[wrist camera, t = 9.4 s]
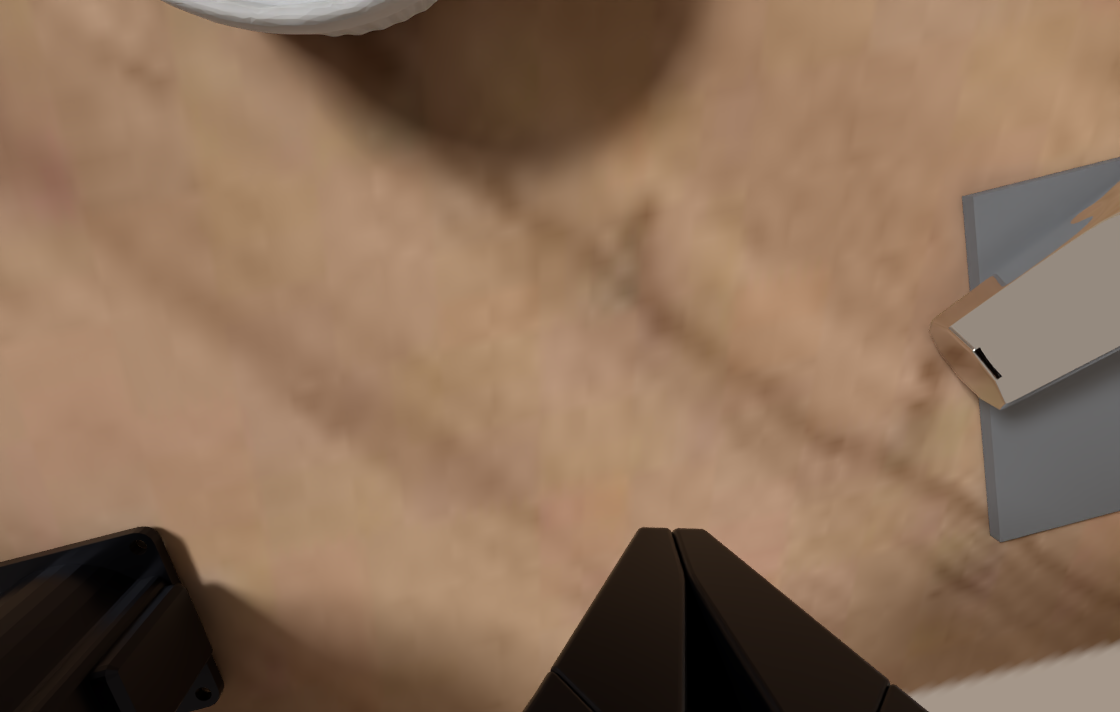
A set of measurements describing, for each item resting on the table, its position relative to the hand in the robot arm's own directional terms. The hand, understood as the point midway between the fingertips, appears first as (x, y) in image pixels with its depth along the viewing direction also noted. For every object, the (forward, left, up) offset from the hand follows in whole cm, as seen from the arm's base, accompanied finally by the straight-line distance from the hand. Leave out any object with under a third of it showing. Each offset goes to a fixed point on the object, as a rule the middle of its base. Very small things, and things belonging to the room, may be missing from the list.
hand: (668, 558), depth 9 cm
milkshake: (+11, -4, -11) cm, 16 cm away
